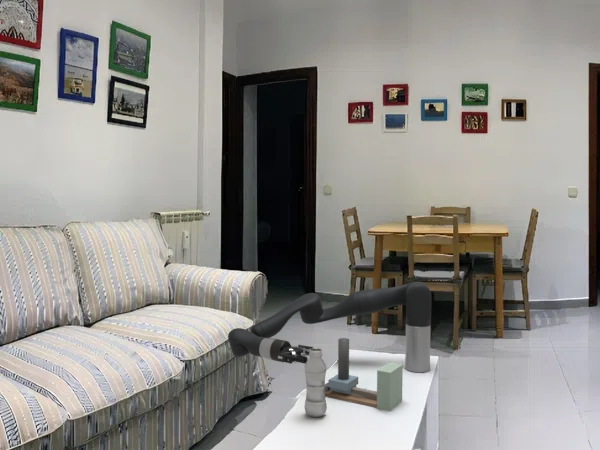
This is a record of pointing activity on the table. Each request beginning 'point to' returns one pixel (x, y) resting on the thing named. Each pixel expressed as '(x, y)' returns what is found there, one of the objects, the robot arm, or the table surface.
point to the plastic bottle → (315, 384)
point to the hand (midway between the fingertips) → (313, 357)
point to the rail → (354, 396)
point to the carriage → (343, 370)
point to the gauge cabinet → (389, 386)
